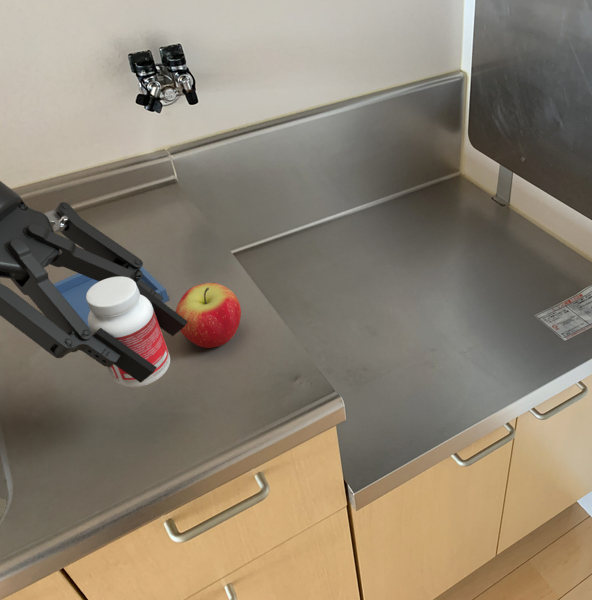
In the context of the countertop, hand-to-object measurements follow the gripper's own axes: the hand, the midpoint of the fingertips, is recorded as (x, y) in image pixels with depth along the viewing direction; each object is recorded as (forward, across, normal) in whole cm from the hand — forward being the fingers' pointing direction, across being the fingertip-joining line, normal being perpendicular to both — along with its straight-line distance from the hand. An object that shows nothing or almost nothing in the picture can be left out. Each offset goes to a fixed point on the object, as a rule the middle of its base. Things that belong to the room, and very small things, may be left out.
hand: (164, 350), depth 64 cm
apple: (+7, -15, -12) cm, 21 cm away
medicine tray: (-7, -20, -25) cm, 33 cm away
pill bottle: (0, 0, -5) cm, 5 cm away
